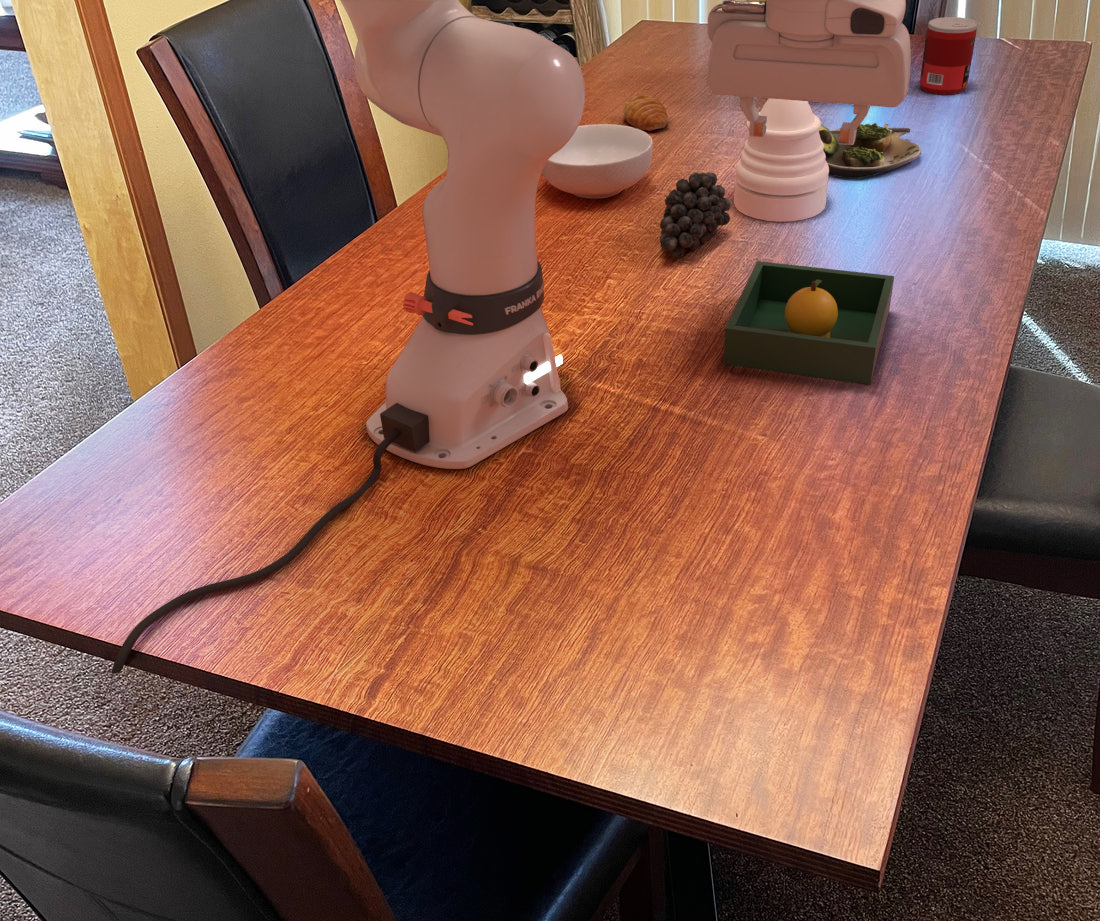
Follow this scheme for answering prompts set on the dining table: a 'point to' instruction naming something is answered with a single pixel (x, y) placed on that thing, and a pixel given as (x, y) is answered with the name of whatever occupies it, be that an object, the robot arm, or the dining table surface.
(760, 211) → the honey pot
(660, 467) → the dining table surface
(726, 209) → the fruit
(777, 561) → the dining table surface
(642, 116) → the pastry
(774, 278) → the crate
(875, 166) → the salad plate
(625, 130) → the cereal bowl
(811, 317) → the orange
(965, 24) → the canned food
